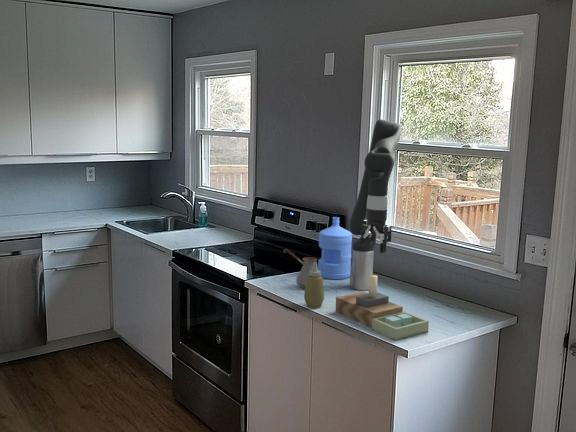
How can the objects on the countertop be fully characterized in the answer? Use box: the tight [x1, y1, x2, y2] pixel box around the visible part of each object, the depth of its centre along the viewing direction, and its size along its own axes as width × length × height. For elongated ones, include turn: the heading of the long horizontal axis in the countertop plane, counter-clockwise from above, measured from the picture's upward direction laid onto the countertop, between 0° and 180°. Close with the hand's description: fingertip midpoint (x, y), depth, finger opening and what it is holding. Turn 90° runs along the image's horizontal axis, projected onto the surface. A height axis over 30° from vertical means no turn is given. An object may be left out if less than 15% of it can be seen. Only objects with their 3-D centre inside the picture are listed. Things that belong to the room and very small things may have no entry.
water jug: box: [317, 216, 353, 280], centre depth 283 cm, size 16×16×28 cm
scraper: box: [356, 274, 390, 308], centre depth 224 cm, size 6×11×10 cm, turn 126°
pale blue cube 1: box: [385, 316, 401, 328], centre depth 213 cm, size 4×4×4 cm
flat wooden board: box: [334, 291, 404, 329], centre depth 227 cm, size 22×14×6 cm, turn 34°
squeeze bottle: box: [303, 261, 325, 309], centre depth 237 cm, size 8×8×18 cm
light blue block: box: [396, 314, 412, 327], centre depth 216 cm, size 4×4×4 cm
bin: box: [371, 311, 430, 341], centre depth 213 cm, size 12×16×4 cm
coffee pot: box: [282, 248, 318, 290], centre depth 267 cm, size 21×12×15 cm, turn 46°
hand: (374, 250), depth 222 cm, fingers open, 8 cm apart
